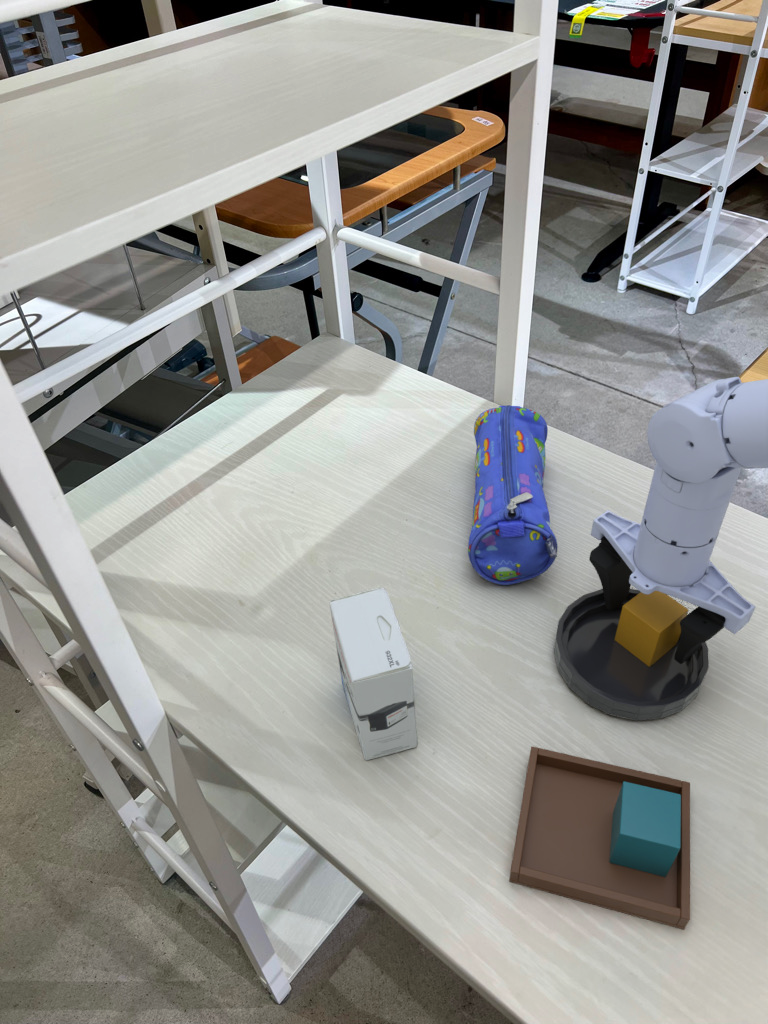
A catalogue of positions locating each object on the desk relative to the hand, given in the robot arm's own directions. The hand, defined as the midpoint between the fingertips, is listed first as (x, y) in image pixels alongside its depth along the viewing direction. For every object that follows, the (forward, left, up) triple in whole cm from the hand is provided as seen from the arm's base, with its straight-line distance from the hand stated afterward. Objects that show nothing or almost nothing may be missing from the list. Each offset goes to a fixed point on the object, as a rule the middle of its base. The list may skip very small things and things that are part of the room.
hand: (648, 629), depth 68 cm
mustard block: (0, 0, -2) cm, 2 cm away
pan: (+1, +2, -2) cm, 3 cm away
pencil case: (+15, -14, -2) cm, 21 cm away
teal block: (0, +19, -2) cm, 19 cm away
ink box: (+22, +13, -2) cm, 26 cm away
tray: (+2, +19, -2) cm, 19 cm away
